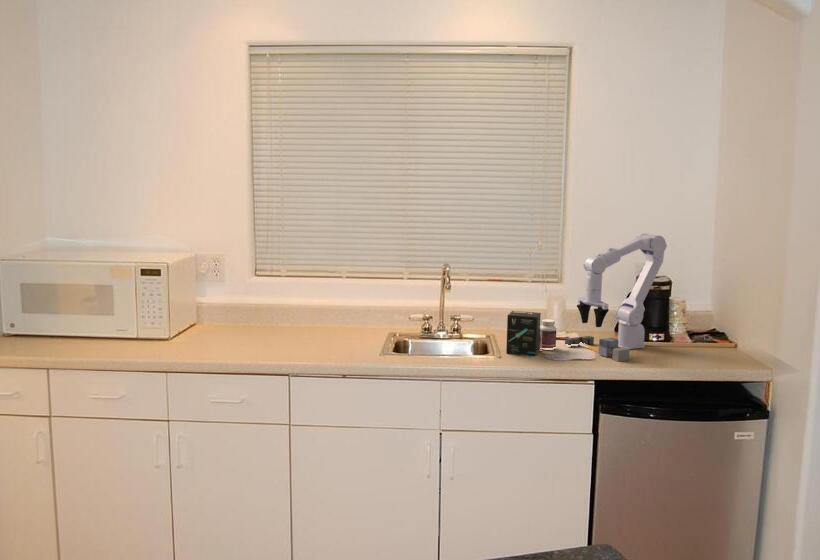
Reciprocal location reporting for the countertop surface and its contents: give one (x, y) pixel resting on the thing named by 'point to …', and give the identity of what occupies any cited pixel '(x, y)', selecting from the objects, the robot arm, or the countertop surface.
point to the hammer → (615, 353)
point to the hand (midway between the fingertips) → (591, 324)
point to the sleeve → (607, 346)
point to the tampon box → (523, 333)
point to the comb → (580, 340)
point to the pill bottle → (547, 334)
